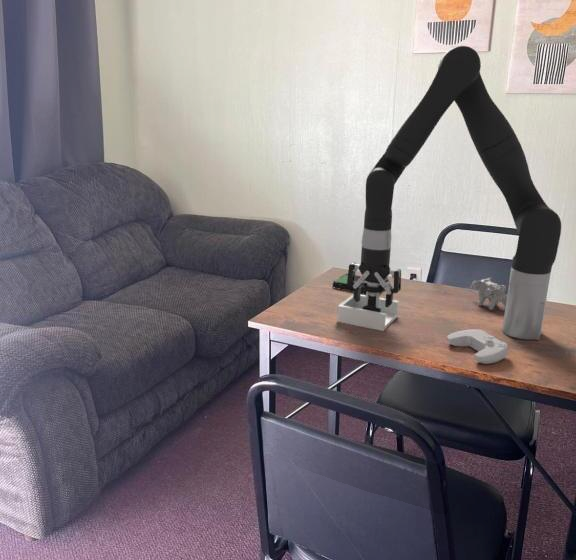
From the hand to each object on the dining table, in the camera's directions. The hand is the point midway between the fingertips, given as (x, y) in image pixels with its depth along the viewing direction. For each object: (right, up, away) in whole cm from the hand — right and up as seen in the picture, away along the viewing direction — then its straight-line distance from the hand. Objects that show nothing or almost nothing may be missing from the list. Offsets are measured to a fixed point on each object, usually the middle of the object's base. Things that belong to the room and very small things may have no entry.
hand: (372, 303), depth 151 cm
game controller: (+23, -11, -17) cm, 31 cm away
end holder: (-1, -4, +2) cm, 5 cm away
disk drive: (0, +3, +28) cm, 29 cm away
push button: (-1, -4, +1) cm, 4 cm away
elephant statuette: (+36, -1, +15) cm, 39 cm away
